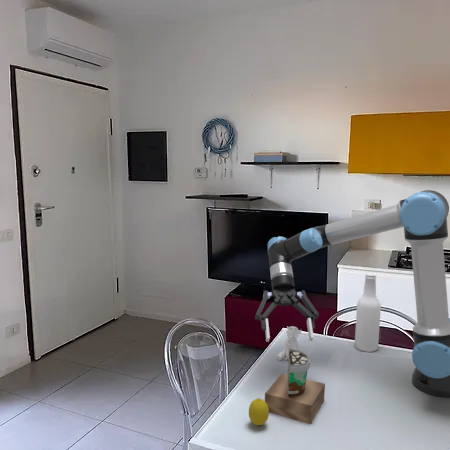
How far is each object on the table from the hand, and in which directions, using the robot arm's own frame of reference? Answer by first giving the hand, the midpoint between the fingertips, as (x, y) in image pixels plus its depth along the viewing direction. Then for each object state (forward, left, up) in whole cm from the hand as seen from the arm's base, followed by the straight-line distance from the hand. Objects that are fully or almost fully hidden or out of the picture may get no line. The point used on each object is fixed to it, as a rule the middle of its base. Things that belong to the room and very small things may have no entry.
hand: (289, 339), depth 140 cm
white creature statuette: (+3, -27, -18) cm, 32 cm away
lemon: (+5, +19, -18) cm, 27 cm away
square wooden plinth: (-3, +6, -18) cm, 20 cm away
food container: (-4, +6, -13) cm, 15 cm away
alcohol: (-24, -45, -18) cm, 54 cm away
